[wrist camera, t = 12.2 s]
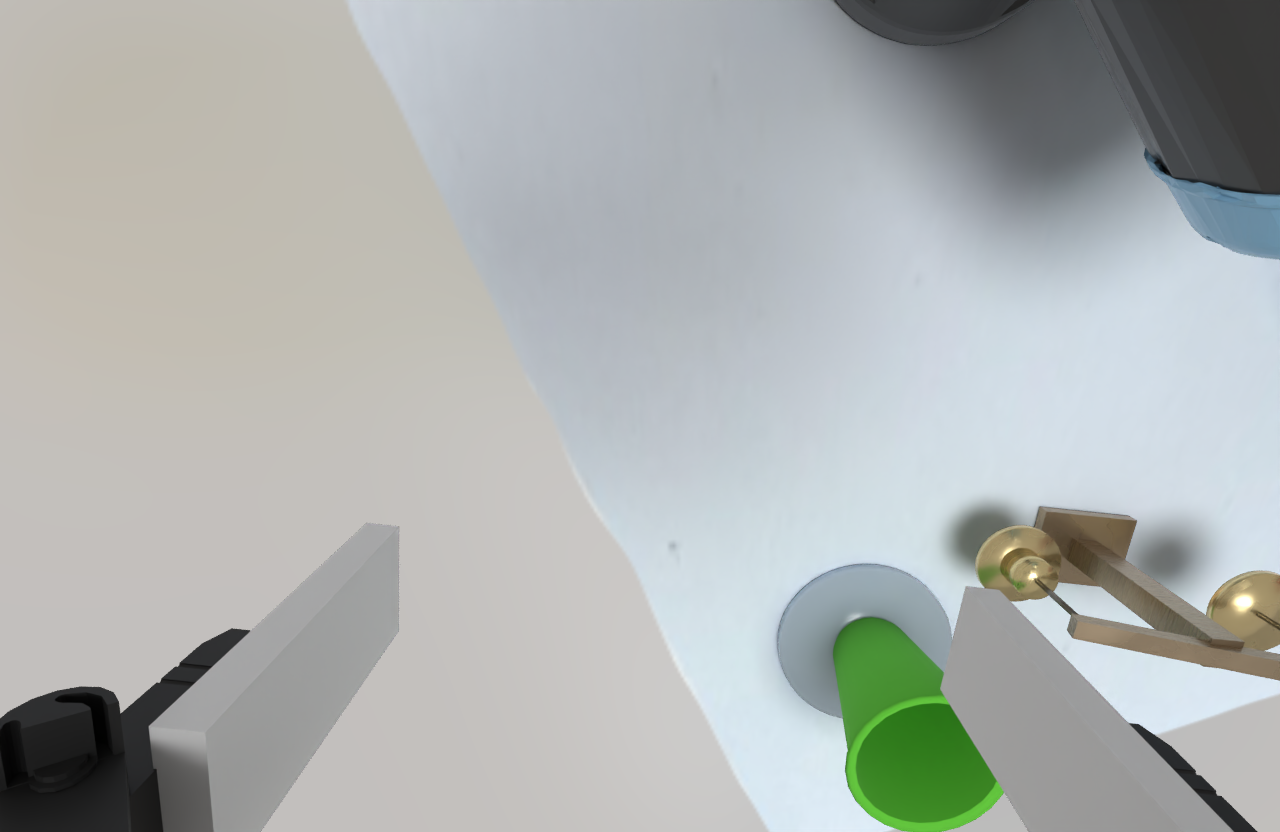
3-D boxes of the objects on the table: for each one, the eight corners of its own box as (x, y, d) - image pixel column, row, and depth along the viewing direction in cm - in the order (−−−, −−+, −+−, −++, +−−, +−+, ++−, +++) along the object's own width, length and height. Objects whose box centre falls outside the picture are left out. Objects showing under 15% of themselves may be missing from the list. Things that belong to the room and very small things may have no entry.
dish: (791, 555, 46) (794, 562, 45) (962, 573, 46) (969, 580, 45) (766, 701, 49) (768, 710, 48) (926, 718, 49) (932, 728, 48)
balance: (942, 564, 46) (1065, 705, 32) (958, 498, 44) (1093, 614, 30) (1187, 590, 46) (1419, 744, 32) (1210, 524, 44) (1462, 653, 30)
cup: (916, 709, 48) (990, 844, 37) (792, 692, 48) (831, 822, 37) (948, 600, 45) (1036, 709, 35) (818, 582, 45) (866, 686, 35)
